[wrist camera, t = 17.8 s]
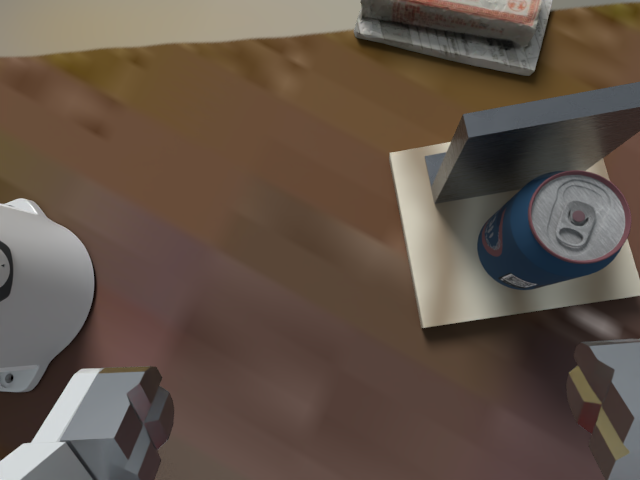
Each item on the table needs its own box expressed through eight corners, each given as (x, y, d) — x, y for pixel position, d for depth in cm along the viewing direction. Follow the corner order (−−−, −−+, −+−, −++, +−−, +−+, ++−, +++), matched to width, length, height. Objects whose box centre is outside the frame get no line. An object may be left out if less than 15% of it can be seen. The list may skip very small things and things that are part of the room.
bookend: (434, 204, 40) (468, 137, 26) (424, 157, 41) (452, 69, 27) (572, 180, 39) (682, 98, 25) (558, 133, 40) (658, 30, 26)
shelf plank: (421, 327, 39) (423, 327, 38) (389, 159, 43) (389, 153, 41) (633, 296, 38) (644, 294, 36) (582, 124, 41) (590, 117, 40)
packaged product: (350, 8, 41) (380, -80, 43) (352, 41, 46) (379, -39, 48) (549, 50, 38) (574, -46, 40) (529, 81, 43) (553, -7, 45)
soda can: (490, 199, 39) (542, 144, 27) (569, 230, 38) (659, 185, 26) (461, 271, 38) (502, 245, 27) (541, 305, 37) (621, 293, 25)
